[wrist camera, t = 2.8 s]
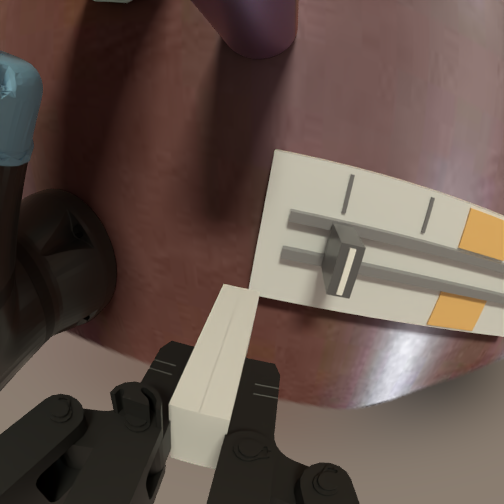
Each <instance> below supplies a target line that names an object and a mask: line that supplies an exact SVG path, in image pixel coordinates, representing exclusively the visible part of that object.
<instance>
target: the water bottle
mask: <svg viewBox="0 0 504 504" xmlns="http://www.w3.org/2000/svg"><path fill="white" fill-rule="evenodd" d="M94 1H97V2H120V3H128V2H130V1H132V0H94Z"/></svg>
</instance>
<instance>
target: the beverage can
mask: <svg viewBox="0 0 504 504" xmlns="http://www.w3.org/2000/svg"><path fill="white" fill-rule="evenodd" d="M191 1H192V2H193V4H194V5H195V6H196V7H197V8H198V9H199V11H200V12H201V13H202V14H203V15H204V16H205V18H206V19H207V20H208V21H209V23H210V24H211V25H212V26H213V27H214V29H215V30H216V31H217V32H218V34H219V35H220V36H221V37H222V39H223V40H224V41H225V42H226V44H227V45H228V46H229V47H230V48H231V49H232V50H233V51H234V52H236V53H238V54H239V55H242V56H244V57H248V58H253V59H264V58H269V57H273V56H276V55H278V54H280V53H282V52H283V51H285V50H286V49H287V48H288V47H289V46H290V45H291V44H292V42H293V41H294V39H295V37H296V34H297V29H298V1H299V0H191Z"/></svg>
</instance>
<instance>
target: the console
mask: <svg viewBox="0 0 504 504" xmlns="http://www.w3.org/2000/svg"><path fill="white" fill-rule="evenodd" d="M333 223H337V224H341V225H346V226H350V227H354V229H355V231H356V232H357V234H358V236H359V237H360V239H361V241H362V242H363V244H364V246H365V247H366V249H365V253H364V256H363V259H362V262H361V265H360V269H359V272H358V275H357V278H356V281H355V284H354V287H353V290H352V293H351V296H350V298H349V299H348V298H343V297H337V296H332V295H327V294H326V290H325V285H324V279H323V274H322V268H321V266H322V262H323V259H324V255H325V251H326V248H327V244H328V240H329V236H330V232H331V228H332V225H333ZM249 290H254V291H259V292H260V295H259V296H261V297H266V298H271V299H275V300H280V301H285V302H290V303H296V304H301V305H306V306H311V307H316V308H322V309H327V310H332V311H338V312H343V313H349V314H355V315H360V316H366V317H372V318H378V319H384V320H390V321H396V322H402V323H409V324H415V325H422V326H428V327H435V328H442V329H449V330H456V331H463V332H471V333H478V334H486V335H494V336H503V337H504V215H501V214H499V213H496V212H494V211H491V210H489V209H486V208H484V207H481V206H478V205H476V204H473V203H470V202H468V201H465V200H462V199H459V198H456V197H454V196H451V195H448V194H445V193H442V192H439V191H436V190H433V189H430V188H427V187H424V186H421V185H417V184H414V183H411V182H408V181H404V180H401V179H398V178H394V177H391V176H387V175H384V174H380V173H377V172H373V171H369V170H366V169H362V168H358V167H354V166H350V165H346V164H342V163H338V162H334V161H330V160H325V159H321V158H316V157H312V156H307V155H303V154H298V153H293V152H288V151H283V150H278V149H276V150H275V152H274V157H273V162H272V168H271V173H270V178H269V184H268V189H267V194H266V200H265V205H264V210H263V216H262V221H261V226H260V231H259V237H258V242H257V247H256V253H255V258H254V263H253V268H252V274H251V279H250V284H249Z"/></svg>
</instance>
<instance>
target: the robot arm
mask: <svg viewBox="0 0 504 504" xmlns="http://www.w3.org/2000/svg"><path fill="white" fill-rule="evenodd" d="M42 93H43V85H42V80H41V77H40V75H39V73H38V71H37V70H36V69H35V68H34V67H33V66H32V65H31V64H30V63H28V62H27V61H25V60H23V59H21V58H19V57H16V56H14V55H11V54H9V53H6V52H3V51H0V391H1V390H2V389H3V388H4V387H5V385H6V384H7V383H8V382H9V381H10V380H11V379H12V378H13V377H14V375H15V374H16V373H17V372H18V371H19V370H20V369H21V368H22V367H23V366H24V365H25V363H26V362H27V361H28V360H29V359H30V358H31V357H32V356H33V355H34V354H35V353H36V352H37V351H38V350H39V349H40V347H41V346H42V345H43V344H44V343H45V342H46V341H47V340H48V339H49V338H50V337H52V336H53V335H56V334H58V333H61V332H63V331H66V330H69V329H71V328H73V327H75V326H77V325H81V324H84V323H86V322H88V321H90V320H92V319H93V318H94V317H95V316H97V315H98V314H99V312H100V311H101V310H102V309H103V308H104V307H105V306H106V305H107V304H108V302H109V301H110V299H111V297H112V295H113V292H114V289H115V284H116V261H115V256H114V252H113V248H112V245H111V242H110V239H109V237H108V235H107V233H106V230H105V229H104V227H103V225H102V223H101V222H100V220H99V219H98V217H97V216H96V215H95V213H94V212H93V211H92V210H91V209H90V207H89V206H88V205H87V204H86V203H84V202H83V201H82V200H81V199H79V198H78V197H76V196H75V195H73V194H71V193H69V192H67V191H64V190H60V189H47V190H43V191H40V192H37V193H34V194H32V195H29V196H27V197H26V198H24V199H23V200H21V199H22V193H23V186H24V180H25V175H26V170H27V164H28V162H29V161H30V158H31V154H32V151H33V148H34V143H33V139H32V138H33V133H34V129H35V124H36V120H37V115H38V111H39V107H40V103H41V99H42ZM259 295H260V292H259V291H254V290H249V289H245V288H240V287H235V286H231V285H226V284H223V287H222V289H221V291H220V293H219V295H218V297H217V300H216V302H215V304H214V306H213V308H212V310H211V313H210V315H209V317H208V319H207V321H206V323H205V326H204V328H203V330H202V332H201V334H200V336H199V339H198V341H197V343H196V345H195V347H193V346H189V345H185V344H182V343H178V342H174V341H171V342H169V343H168V344H166V345H165V346H163V347H162V348H161V349H160V350H159V352H158V354H157V356H156V357H155V360H154V361H153V362H152V364H151V366H150V369H148V371H147V373H146V374H145V376H144V378H143V380H142V382H141V383H139V382H127V383H123V384H121V385H118V386H116V387H115V388H114V389H113V390H112V391H111V392H110V394H111V400H112V404H113V409H114V410H112V411H98V410H90V409H83V408H82V405H81V404H80V402H79V401H78V400H77V399H75V398H73V397H71V396H70V395H63V394H58V395H52V396H50V397H48V398H46V399H45V400H44V401H42V402H41V403H40V404H38V405H37V406H36V407H35V408H33V409H32V410H31V411H29V412H28V413H27V414H26V415H24V416H23V417H22V418H21V419H20V420H18V421H17V422H16V423H14V424H13V425H12V426H10V427H9V428H8V429H7V430H5V431H4V432H3V433H2V434H0V504H153V503H154V500H155V498H156V495H157V492H158V490H159V487H160V484H161V482H162V479H163V476H164V474H165V467H166V465H165V462H166V460H167V457H168V455H169V452H170V457H172V458H175V459H178V460H182V461H185V462H189V463H192V464H196V465H200V466H205V467H208V468H213V469H216V470H215V474H214V478H213V482H212V485H211V489H210V493H209V497H208V500H207V504H359V501H358V498H357V495H356V492H355V490H354V487H353V484H352V481H351V479H350V477H349V475H348V474H347V472H346V471H345V470H343V469H342V468H341V467H340V466H337V465H334V464H331V463H317V464H314V465H311V466H310V467H308V466H305V465H303V464H301V463H298V462H296V461H293V460H291V459H289V458H288V457H286V456H285V455H284V454H283V453H281V452H280V450H279V449H278V447H277V446H276V443H275V440H274V431H275V420H276V410H277V402H278V391H279V390H278V389H279V381H280V374H279V372H278V370H277V368H276V365H275V364H273V363H268V362H263V361H258V360H253V359H248V358H246V355H247V351H248V346H249V342H250V337H251V333H252V328H253V323H254V319H255V314H256V309H257V304H258V300H259Z"/></svg>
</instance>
